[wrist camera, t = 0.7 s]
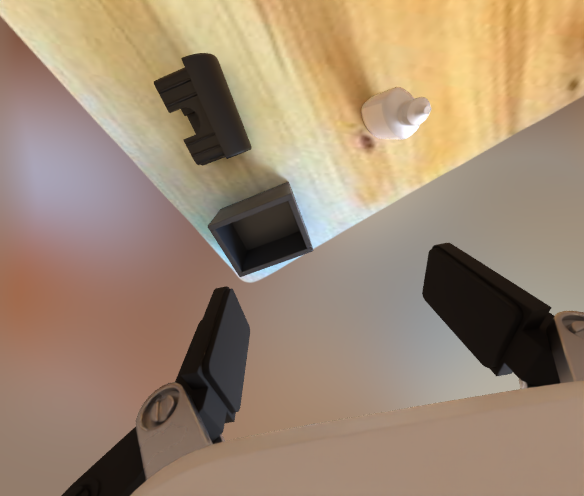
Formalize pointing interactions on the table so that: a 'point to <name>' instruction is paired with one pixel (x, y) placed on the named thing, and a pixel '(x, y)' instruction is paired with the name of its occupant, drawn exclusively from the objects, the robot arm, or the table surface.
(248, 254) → the box
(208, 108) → the end cap
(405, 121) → the eye dropper bottle
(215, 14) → the table surface
